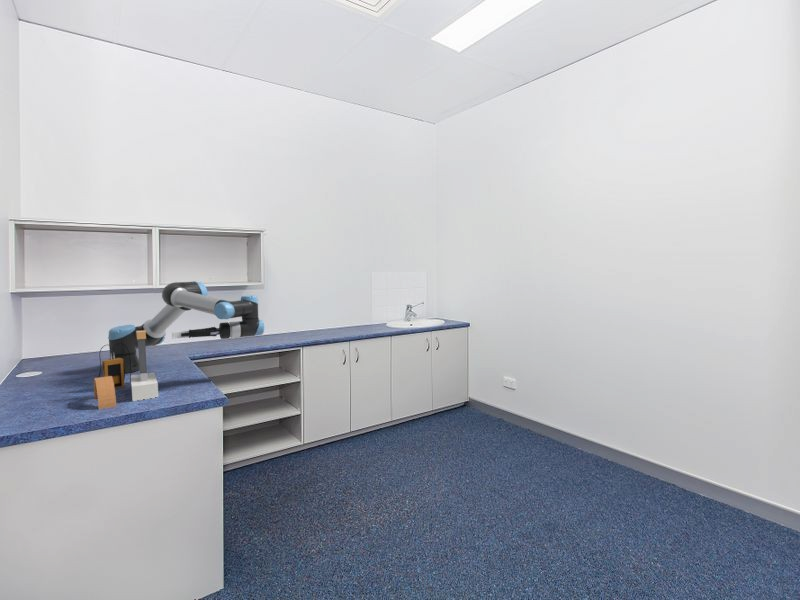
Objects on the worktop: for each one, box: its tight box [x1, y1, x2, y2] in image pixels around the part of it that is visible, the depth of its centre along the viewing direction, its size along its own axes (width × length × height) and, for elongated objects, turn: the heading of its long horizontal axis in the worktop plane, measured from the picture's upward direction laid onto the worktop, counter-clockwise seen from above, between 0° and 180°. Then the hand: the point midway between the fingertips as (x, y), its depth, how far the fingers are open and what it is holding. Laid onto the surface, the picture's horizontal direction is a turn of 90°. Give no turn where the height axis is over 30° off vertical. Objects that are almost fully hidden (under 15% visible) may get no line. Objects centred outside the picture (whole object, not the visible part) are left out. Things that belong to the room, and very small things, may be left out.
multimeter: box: [98, 343, 132, 389], centre depth 192 cm, size 15×10×20 cm
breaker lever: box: [136, 330, 148, 374], centre depth 182 cm, size 5×3×20 cm
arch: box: [93, 376, 117, 410], centre depth 171 cm, size 6×20×10 cm, turn 39°
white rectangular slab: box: [130, 372, 159, 402], centre depth 182 cm, size 22×9×9 cm, turn 33°
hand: (172, 335), depth 187 cm, fingers closed
